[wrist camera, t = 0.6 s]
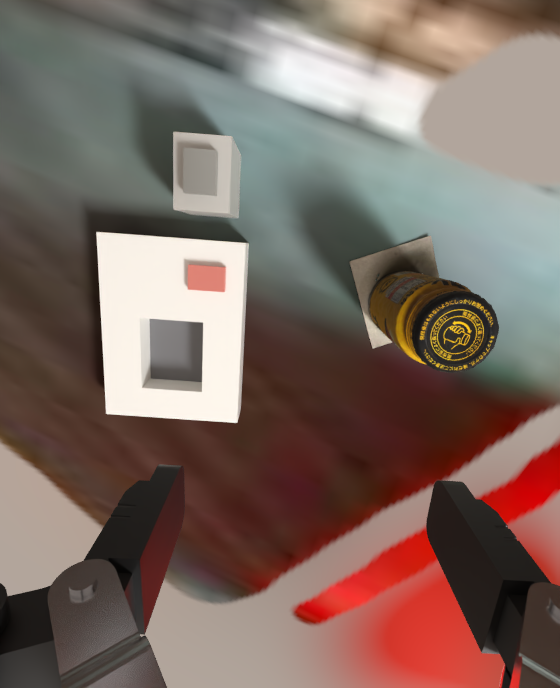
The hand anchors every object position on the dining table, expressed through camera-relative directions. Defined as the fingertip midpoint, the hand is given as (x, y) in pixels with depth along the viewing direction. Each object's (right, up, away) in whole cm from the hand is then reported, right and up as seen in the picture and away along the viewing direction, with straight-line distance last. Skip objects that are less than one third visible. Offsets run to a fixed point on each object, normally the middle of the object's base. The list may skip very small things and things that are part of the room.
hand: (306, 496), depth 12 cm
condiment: (+10, +9, +23) cm, 27 cm away
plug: (-6, +18, +20) cm, 28 cm away
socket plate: (-10, +7, +23) cm, 26 cm away
